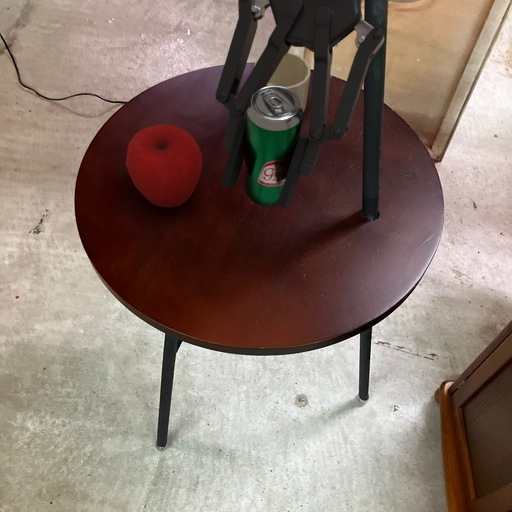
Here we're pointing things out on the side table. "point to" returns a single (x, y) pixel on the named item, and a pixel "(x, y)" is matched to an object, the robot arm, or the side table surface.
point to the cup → (292, 76)
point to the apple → (164, 164)
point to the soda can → (270, 142)
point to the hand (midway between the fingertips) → (255, 194)
